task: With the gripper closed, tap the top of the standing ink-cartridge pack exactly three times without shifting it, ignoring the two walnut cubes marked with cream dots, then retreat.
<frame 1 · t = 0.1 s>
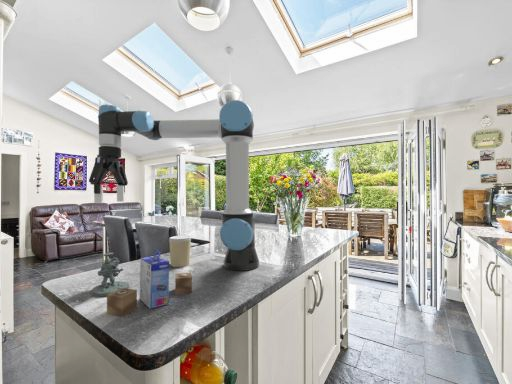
hand: (110, 202, 97), 28 cm above the counter, fingers open, 13 cm apart
coffee cup: (180, 265, 110), on the counter
ink cartridge box: (154, 302, 73), on the counter
walnut cube 2: (183, 291, 81), on the counter
figurine: (110, 290, 82), on the counter
walnut cube 1: (122, 311, 68), on the counter
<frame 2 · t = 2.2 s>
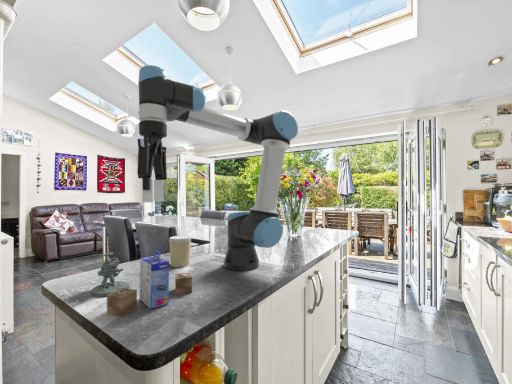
hand: (153, 201, 73), 29 cm above the counter, fingers open, 6 cm apart
nothing on the counter moved.
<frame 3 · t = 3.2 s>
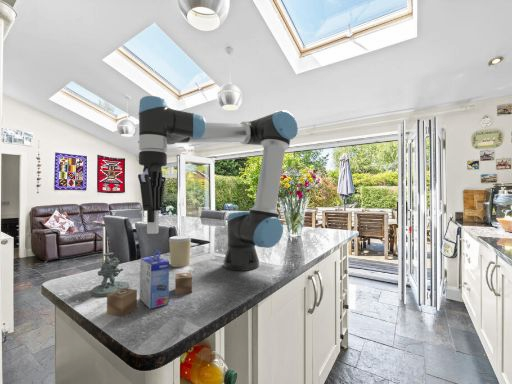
hand: (152, 233, 73), 20 cm above the counter, fingers closed
nothing on the counter moved.
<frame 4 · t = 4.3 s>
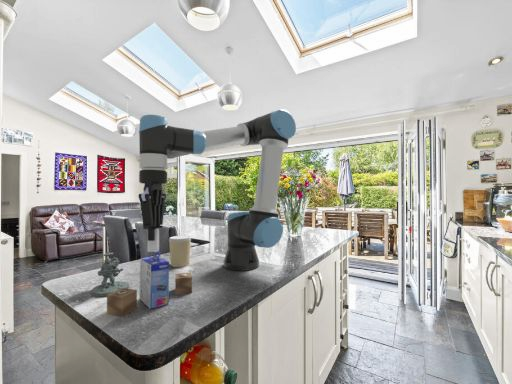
hand: (153, 251, 73), 15 cm above the counter, fingers closed
ink cartridge box: (154, 302, 73), on the counter, touching gripper
everything else where it was.
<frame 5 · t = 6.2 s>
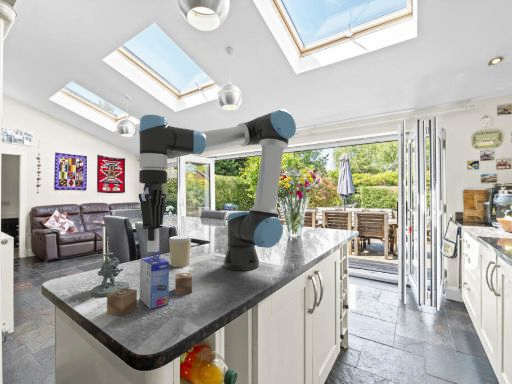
hand: (153, 251, 73), 15 cm above the counter, fingers closed
nothing on the counter moved.
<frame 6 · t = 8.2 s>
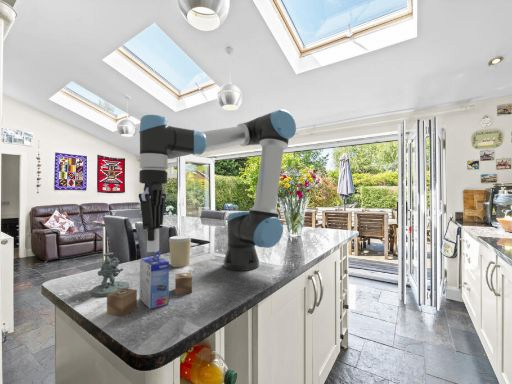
hand: (153, 251, 73), 15 cm above the counter, fingers closed
nothing on the counter moved.
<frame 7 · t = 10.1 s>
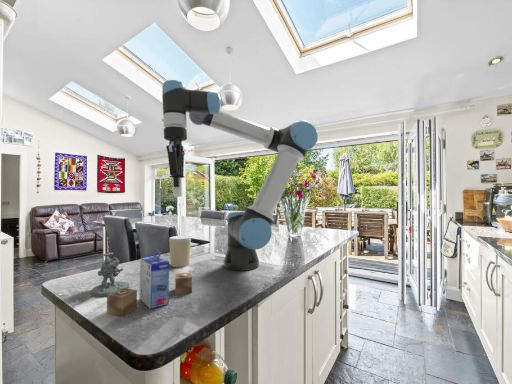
hand: (177, 196, 87), 30 cm above the counter, fingers closed
ink cartridge box: (154, 302, 73), on the counter
everything else where it was.
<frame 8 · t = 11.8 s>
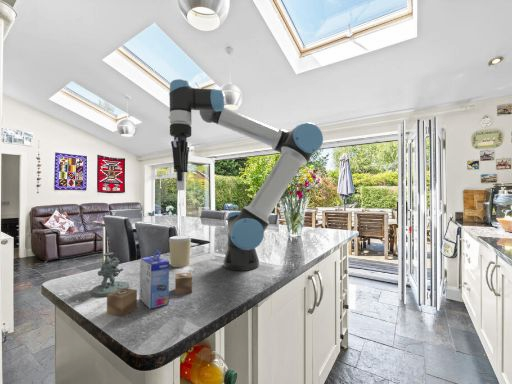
hand: (181, 190, 91), 32 cm above the counter, fingers closed
nothing on the counter moved.
at the end: ink cartridge box moved 0.3 cm from its start; ink cartridge box tilted 0°; the gripper is holding nothing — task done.
